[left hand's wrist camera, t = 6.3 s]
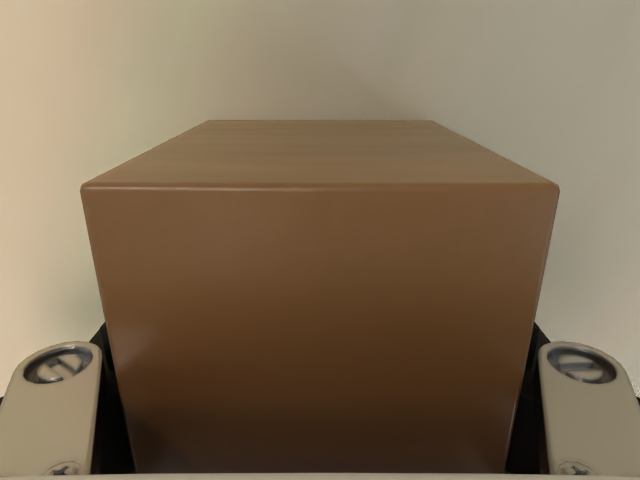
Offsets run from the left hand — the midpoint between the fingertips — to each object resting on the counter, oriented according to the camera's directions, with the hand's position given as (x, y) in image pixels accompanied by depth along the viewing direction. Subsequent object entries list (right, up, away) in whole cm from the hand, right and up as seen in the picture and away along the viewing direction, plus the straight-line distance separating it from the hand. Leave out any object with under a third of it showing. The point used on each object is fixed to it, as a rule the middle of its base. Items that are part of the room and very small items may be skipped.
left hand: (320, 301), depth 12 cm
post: (0, -32, +14) cm, 35 cm away
